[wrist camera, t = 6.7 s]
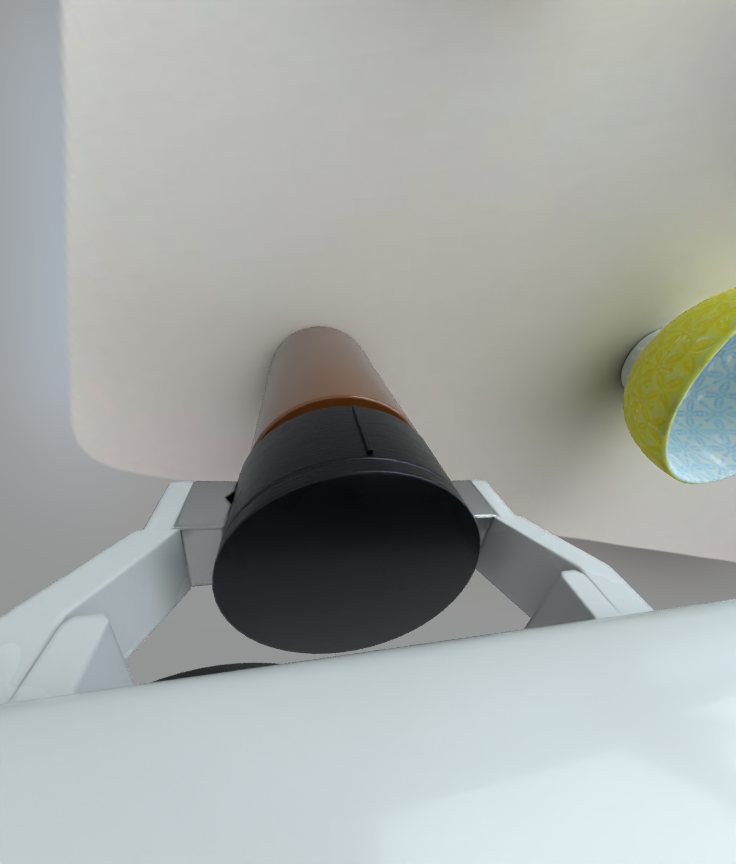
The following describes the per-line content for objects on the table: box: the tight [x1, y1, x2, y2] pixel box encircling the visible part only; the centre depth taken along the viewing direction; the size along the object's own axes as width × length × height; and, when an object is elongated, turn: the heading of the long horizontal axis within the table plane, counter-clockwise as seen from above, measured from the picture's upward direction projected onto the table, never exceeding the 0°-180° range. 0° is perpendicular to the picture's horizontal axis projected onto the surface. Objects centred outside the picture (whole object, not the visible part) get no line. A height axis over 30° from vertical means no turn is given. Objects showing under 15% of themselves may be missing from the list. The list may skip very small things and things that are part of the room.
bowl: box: [621, 288, 736, 484], centre depth 18 cm, size 11×12×6 cm
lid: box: [212, 405, 480, 654], centre depth 8 cm, size 6×6×3 cm
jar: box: [250, 327, 417, 452], centre depth 12 cm, size 5×5×12 cm
